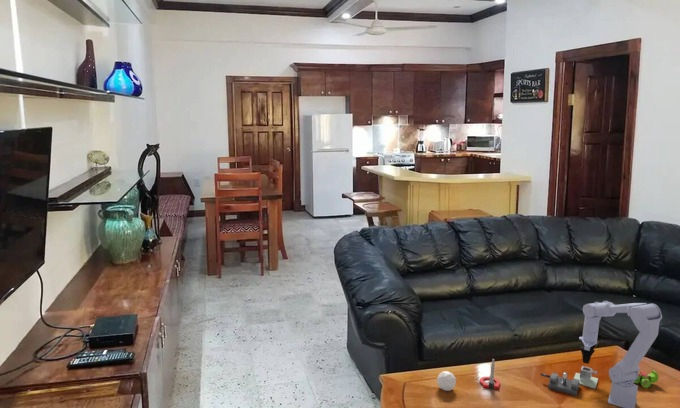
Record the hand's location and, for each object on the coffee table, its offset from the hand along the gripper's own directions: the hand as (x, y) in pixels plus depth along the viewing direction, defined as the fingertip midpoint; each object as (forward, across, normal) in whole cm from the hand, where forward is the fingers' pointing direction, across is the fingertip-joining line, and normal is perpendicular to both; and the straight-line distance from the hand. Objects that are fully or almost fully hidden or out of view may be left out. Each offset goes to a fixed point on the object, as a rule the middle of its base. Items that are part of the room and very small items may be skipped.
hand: (586, 359), depth 227 cm
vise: (+10, +12, -8) cm, 18 cm away
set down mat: (+10, +1, +1) cm, 10 cm away
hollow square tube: (+9, +1, +2) cm, 9 cm away
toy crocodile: (+10, -9, +18) cm, 22 cm away
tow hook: (+10, +27, -34) cm, 44 cm away
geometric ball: (+10, +42, -48) cm, 64 cm away
